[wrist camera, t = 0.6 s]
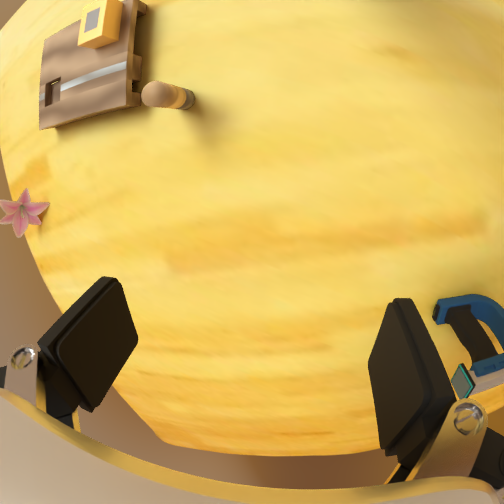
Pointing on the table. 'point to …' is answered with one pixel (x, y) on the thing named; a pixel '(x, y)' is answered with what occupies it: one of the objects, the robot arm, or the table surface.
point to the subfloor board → (89, 73)
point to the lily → (22, 212)
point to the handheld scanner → (474, 340)
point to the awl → (167, 96)
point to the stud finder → (100, 23)
